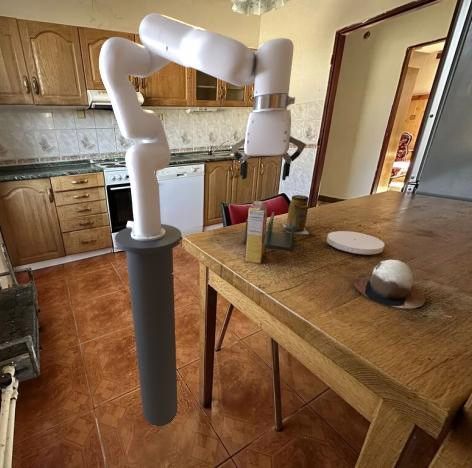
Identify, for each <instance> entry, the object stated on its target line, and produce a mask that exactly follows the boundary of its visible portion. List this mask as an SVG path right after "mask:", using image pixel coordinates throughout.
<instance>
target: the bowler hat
mask: <svg viewBox="0 0 472 468" xmlns="http://www.w3.org/2000/svg"><path fill="white" fill-rule="evenodd" d="M413 277H414V276H413V273H412V269H411V268H410V266H409V265H408V264H406V262H403V261H401V260H398V259H386V260H381V261H379V263H377V265H376V266H374V267H373V271H372V273H365V274H361V275H358V276H356V277H355V278H354V280H353V285H354V287H355V288H356V290H357V291H358V292H359V293H360V294H362V295H363V296H365V297H366V298H368V299H370V300H371V301H374V302H376V303H378V304H381V305H385V306H389V307H393V308H399V309H416V308H419V307H422V306H423V305H425V303H426V297H425V296H424V294H423V293H422V292H421V291H420V289H418V288H416V287H415V286H414V285H413V283H414V278H413Z"/></svg>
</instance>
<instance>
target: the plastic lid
mask: <svg viewBox="0 0 472 468" xmlns="http://www.w3.org/2000/svg"><path fill="white" fill-rule="evenodd" d="M326 243H328V245H329V246H331V247H333V248H335V249H338V250H341V251H344V252H348V253H352V254H358V255H377V254H380V253H383V252H384V249H385V246H386V245H385V242H384V241H383V240H382V239H379V238H377V237H375V236H373V235H369V234H366V233H362V232H357V231H348V230H338V231H331V232H329V233H328V234H327V235H326Z"/></svg>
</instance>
